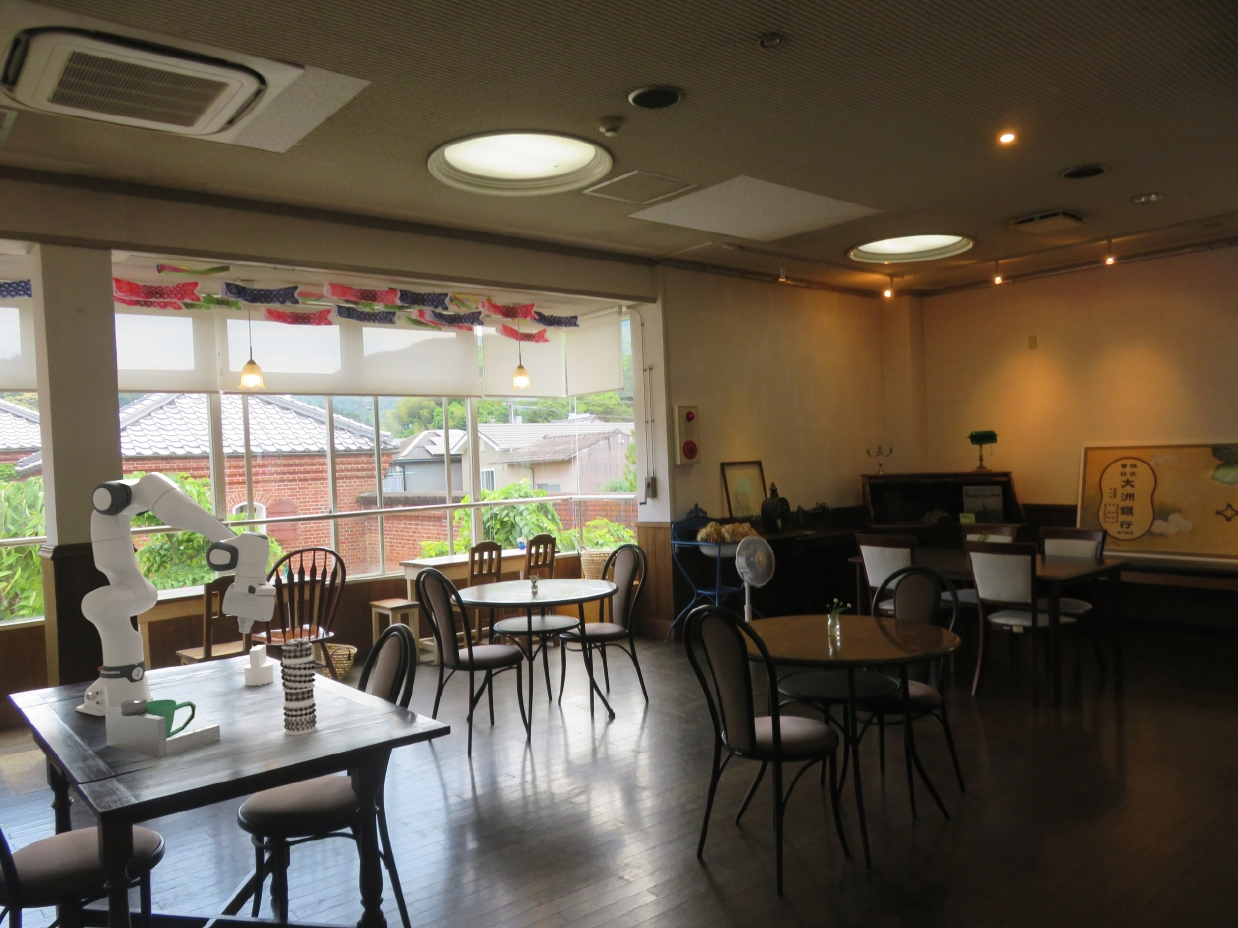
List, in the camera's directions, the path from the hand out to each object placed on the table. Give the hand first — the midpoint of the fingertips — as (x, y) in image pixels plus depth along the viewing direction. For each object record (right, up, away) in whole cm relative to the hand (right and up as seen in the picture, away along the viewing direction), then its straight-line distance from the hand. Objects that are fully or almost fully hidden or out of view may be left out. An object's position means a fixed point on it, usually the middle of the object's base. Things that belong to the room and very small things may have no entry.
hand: (244, 632), depth 268 cm
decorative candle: (+23, -24, -18) cm, 38 cm away
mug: (-12, -25, -22) cm, 35 cm away
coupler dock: (-12, -25, -26) cm, 38 cm away
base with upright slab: (-12, -25, +41) cm, 49 cm away
